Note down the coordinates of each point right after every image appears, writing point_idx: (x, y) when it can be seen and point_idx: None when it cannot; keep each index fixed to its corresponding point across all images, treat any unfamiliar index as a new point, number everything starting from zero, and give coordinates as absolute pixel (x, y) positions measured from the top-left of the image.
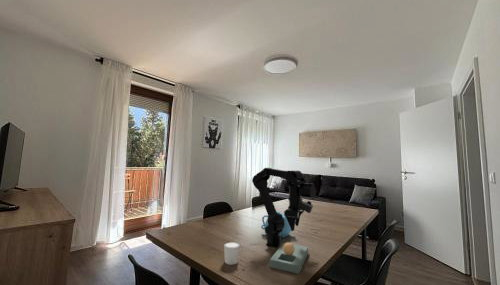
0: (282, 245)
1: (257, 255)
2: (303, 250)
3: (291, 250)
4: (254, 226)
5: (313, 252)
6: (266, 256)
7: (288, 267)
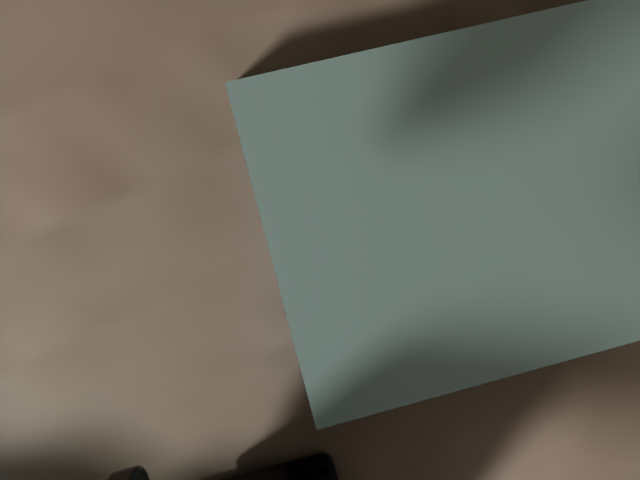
0: (427, 388)
1: (626, 465)
2: (416, 80)
3: None
4: None
5: (134, 34)
6: (602, 398)
7: None
